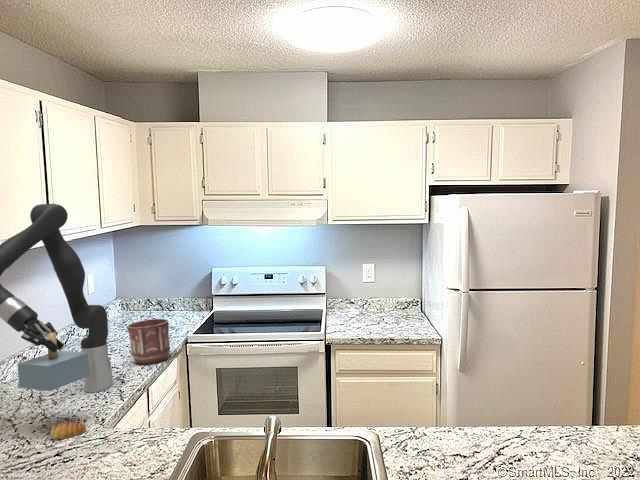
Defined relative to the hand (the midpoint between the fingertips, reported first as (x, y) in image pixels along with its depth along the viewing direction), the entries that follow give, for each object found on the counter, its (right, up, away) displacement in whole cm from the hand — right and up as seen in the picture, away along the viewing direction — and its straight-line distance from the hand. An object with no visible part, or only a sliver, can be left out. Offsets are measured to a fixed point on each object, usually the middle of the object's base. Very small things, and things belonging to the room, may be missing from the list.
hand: (59, 348), depth 149 cm
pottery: (+5, -22, +69) cm, 73 cm away
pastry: (+6, -25, -6) cm, 27 cm away
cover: (-1, -11, 0) cm, 11 cm away
